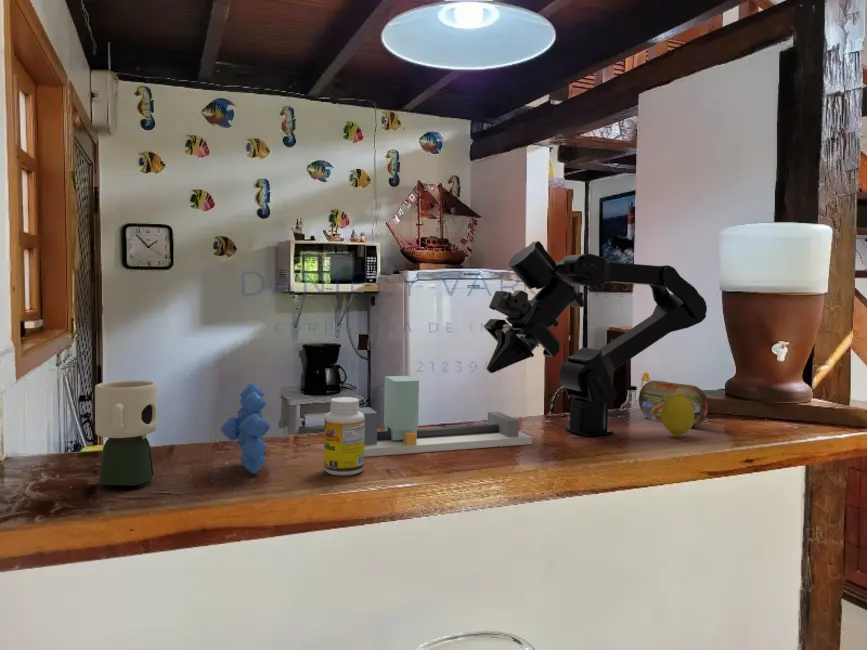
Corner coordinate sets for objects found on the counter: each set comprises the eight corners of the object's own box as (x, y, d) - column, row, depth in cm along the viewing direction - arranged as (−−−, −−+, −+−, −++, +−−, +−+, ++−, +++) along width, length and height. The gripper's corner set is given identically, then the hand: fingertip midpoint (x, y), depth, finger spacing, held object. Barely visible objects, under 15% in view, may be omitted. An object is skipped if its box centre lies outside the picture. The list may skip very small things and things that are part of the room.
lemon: (658, 438, 111) (660, 394, 111) (663, 432, 116) (664, 390, 116) (692, 442, 108) (693, 397, 108) (694, 436, 113) (696, 392, 113)
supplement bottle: (320, 467, 88) (320, 397, 88) (357, 464, 90) (358, 395, 90) (329, 478, 83) (330, 403, 83) (369, 474, 85) (370, 401, 85)
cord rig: (504, 431, 114) (505, 398, 114) (531, 444, 105) (532, 407, 104) (344, 442, 104) (345, 405, 103) (358, 457, 94) (359, 417, 94)
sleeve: (406, 431, 105) (407, 375, 105) (417, 439, 100) (418, 380, 99) (383, 433, 104) (384, 376, 103) (394, 441, 98) (395, 381, 98)
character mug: (149, 496, 75) (148, 389, 74) (84, 500, 73) (83, 391, 72) (163, 470, 85) (163, 377, 85) (106, 473, 83) (106, 378, 83)
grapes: (220, 460, 91) (220, 379, 91) (267, 457, 93) (267, 378, 93) (220, 483, 80) (220, 392, 80) (273, 479, 82) (274, 390, 82)
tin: (637, 417, 131) (638, 377, 130) (646, 416, 132) (648, 377, 132) (700, 431, 118) (702, 387, 117) (710, 429, 119) (712, 386, 119)
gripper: (494, 276, 117) (439, 335, 113) (545, 273, 99) (482, 343, 96) (530, 317, 120) (477, 376, 116) (586, 322, 102) (526, 391, 99)
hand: (489, 371), depth 107 cm, fingers closed
